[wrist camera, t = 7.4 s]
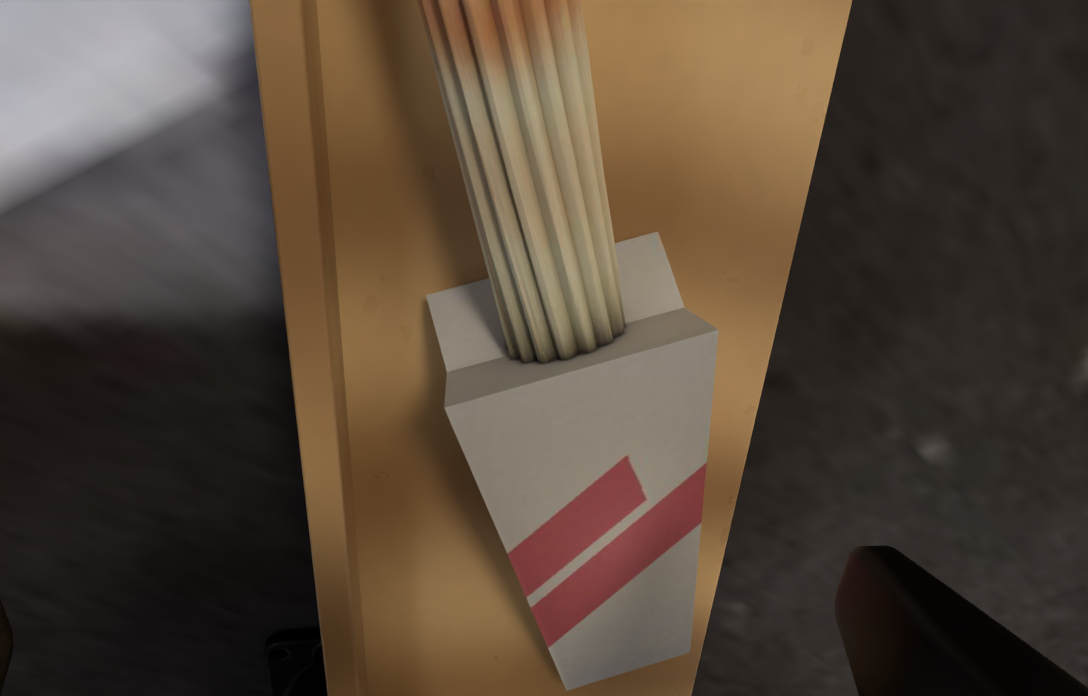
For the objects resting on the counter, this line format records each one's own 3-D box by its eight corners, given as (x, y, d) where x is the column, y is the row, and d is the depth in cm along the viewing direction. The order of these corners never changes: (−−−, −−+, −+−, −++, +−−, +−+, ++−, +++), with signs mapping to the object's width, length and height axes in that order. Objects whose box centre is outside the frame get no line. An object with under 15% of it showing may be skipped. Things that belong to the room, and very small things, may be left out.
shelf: (630, 502, 26) (707, 762, 19) (361, 512, 25) (337, 791, 18) (798, -644, 14) (1209, -1136, 7) (278, -719, 13) (89, -1404, 5)
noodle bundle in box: (556, 764, 17) (41, -882, 5) (528, 648, 19) (121, -702, 7) (739, 709, 18) (668, -977, 5) (692, 600, 20) (564, -776, 8)
